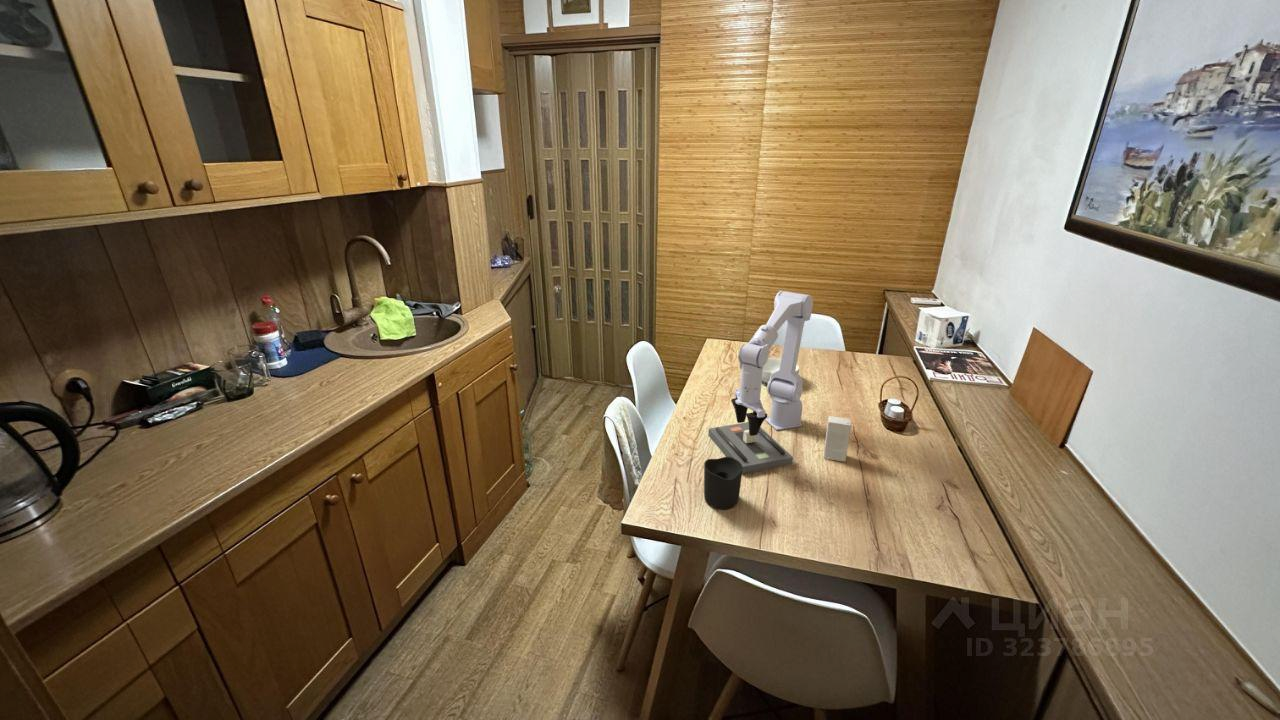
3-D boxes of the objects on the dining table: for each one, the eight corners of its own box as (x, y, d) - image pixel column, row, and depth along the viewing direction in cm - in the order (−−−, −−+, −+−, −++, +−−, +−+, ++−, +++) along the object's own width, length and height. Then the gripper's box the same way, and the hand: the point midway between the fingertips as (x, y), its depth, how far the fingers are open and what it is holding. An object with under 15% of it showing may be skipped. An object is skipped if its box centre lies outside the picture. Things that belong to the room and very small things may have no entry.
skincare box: (844, 454, 145) (851, 418, 140) (845, 462, 141) (851, 425, 136) (823, 451, 146) (828, 415, 142) (822, 458, 143) (828, 422, 138)
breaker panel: (753, 427, 159) (754, 417, 158) (792, 464, 140) (793, 453, 138) (708, 435, 155) (708, 425, 154) (741, 474, 135) (742, 463, 134)
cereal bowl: (802, 378, 195) (804, 362, 193) (790, 394, 182) (792, 377, 180) (761, 370, 204) (762, 354, 201) (746, 384, 191) (747, 367, 188)
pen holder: (732, 515, 120) (735, 481, 116) (696, 503, 124) (698, 470, 120) (744, 494, 127) (747, 461, 124) (710, 484, 132) (712, 452, 128)
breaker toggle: (751, 438, 148) (752, 429, 146) (754, 441, 146) (755, 432, 145) (742, 440, 147) (743, 430, 146) (746, 443, 145) (747, 433, 144)
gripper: (726, 377, 142) (723, 418, 147) (750, 398, 129) (746, 443, 134) (748, 374, 144) (744, 415, 149) (774, 394, 131) (769, 439, 136)
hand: (747, 428), depth 142 cm, fingers open, 7 cm apart
